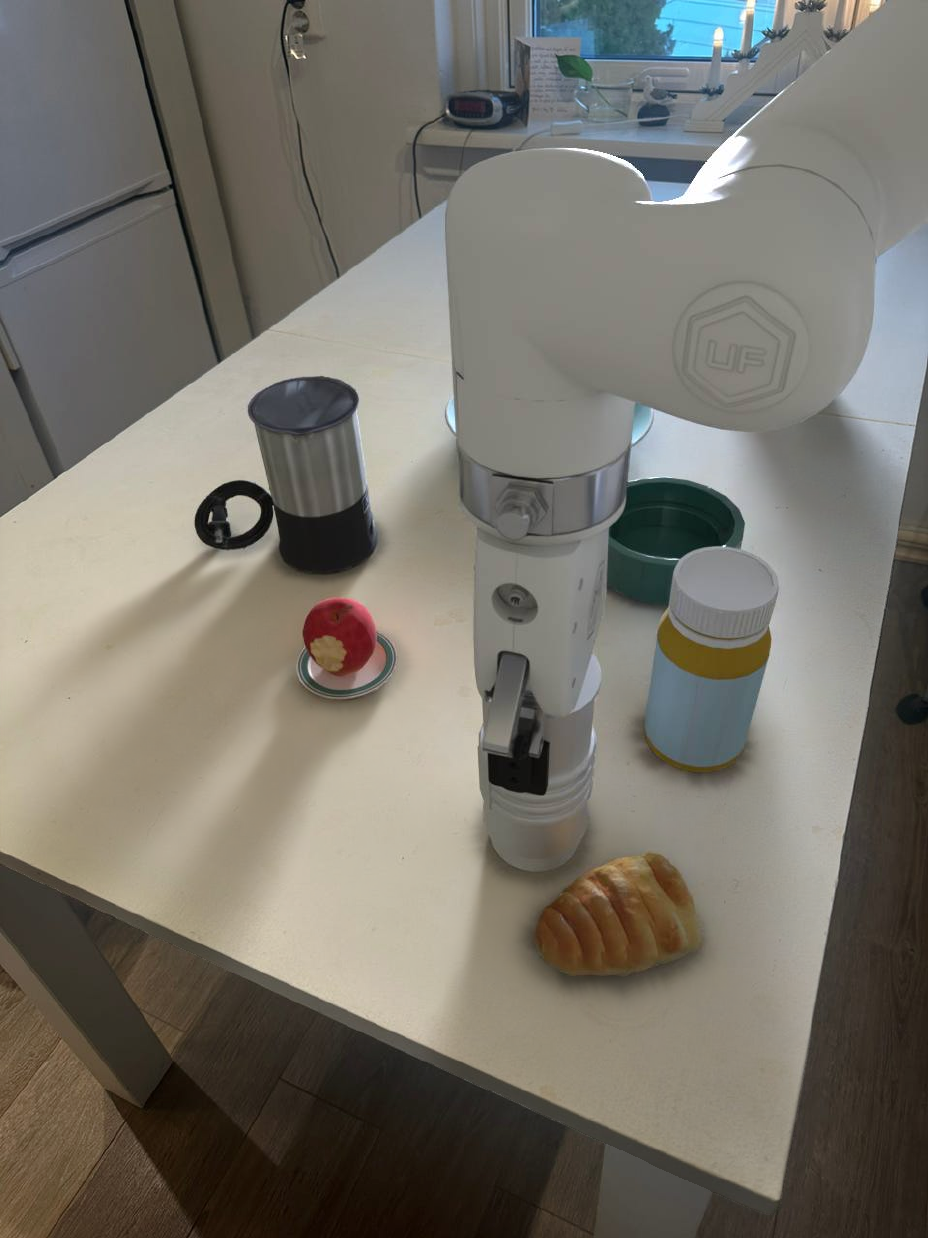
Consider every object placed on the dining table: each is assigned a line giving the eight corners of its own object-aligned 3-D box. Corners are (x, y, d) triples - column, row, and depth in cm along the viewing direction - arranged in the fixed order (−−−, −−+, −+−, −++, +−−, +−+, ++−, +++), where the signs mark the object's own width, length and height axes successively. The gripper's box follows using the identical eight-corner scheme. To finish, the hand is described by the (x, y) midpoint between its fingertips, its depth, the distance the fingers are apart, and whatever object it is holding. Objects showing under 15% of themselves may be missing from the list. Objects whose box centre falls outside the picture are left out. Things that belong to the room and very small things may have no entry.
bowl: (739, 533, 80) (749, 487, 77) (727, 623, 71) (738, 575, 68) (603, 514, 83) (607, 469, 80) (575, 597, 74) (578, 551, 71)
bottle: (738, 788, 59) (783, 625, 49) (635, 765, 61) (657, 603, 51) (747, 714, 64) (790, 552, 54) (651, 694, 66) (675, 534, 56)
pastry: (564, 1014, 48) (566, 982, 46) (515, 911, 53) (515, 877, 51) (710, 952, 51) (720, 918, 48) (650, 859, 55) (657, 823, 53)
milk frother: (392, 561, 79) (374, 413, 69) (218, 608, 75) (173, 460, 65) (348, 482, 89) (326, 343, 79) (193, 521, 85) (150, 380, 75)
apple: (412, 683, 68) (405, 621, 63) (312, 716, 66) (298, 654, 61) (379, 620, 73) (370, 559, 69) (286, 649, 71) (271, 588, 67)
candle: (466, 809, 59) (455, 649, 49) (559, 776, 60) (567, 615, 50) (506, 894, 54) (503, 737, 44) (606, 856, 56) (626, 696, 46)
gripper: (586, 609, 31) (567, 875, 43) (656, 386, 44) (627, 641, 55) (392, 576, 33) (425, 839, 45) (511, 370, 46) (513, 620, 57)
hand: (536, 728), depth 50 cm, fingers open, 7 cm apart
